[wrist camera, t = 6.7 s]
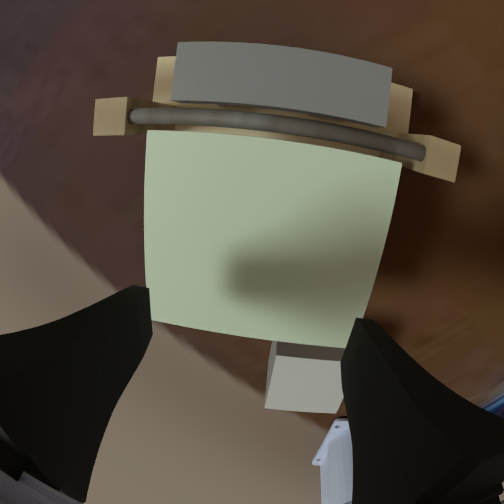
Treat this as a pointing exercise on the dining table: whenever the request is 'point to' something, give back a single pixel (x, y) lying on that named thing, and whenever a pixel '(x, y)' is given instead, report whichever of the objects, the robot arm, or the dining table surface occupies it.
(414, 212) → the dining table surface
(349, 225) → the trapdoor
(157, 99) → the frame
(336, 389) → the white cube
